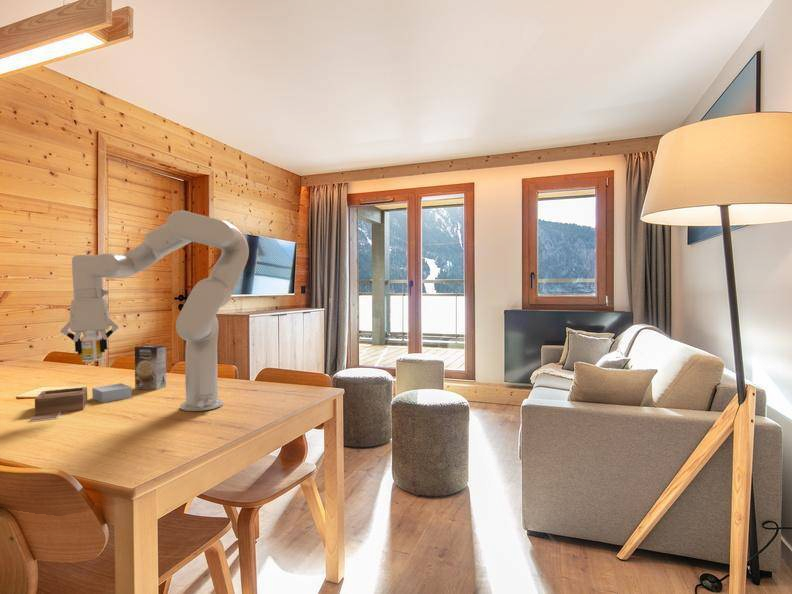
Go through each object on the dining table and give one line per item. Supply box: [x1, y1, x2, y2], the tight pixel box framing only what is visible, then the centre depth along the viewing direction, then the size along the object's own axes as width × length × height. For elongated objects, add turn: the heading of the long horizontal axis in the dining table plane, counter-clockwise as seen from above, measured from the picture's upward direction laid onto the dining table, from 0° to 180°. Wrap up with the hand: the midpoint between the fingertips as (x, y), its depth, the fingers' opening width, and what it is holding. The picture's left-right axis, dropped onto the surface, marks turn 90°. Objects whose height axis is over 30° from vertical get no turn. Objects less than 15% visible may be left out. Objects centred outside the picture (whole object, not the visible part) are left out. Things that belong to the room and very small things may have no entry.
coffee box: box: [134, 344, 167, 391], centre depth 172 cm, size 9×6×16 cm
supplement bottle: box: [80, 330, 103, 363], centre depth 141 cm, size 5×5×10 cm
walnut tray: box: [34, 386, 88, 414], centre depth 144 cm, size 12×12×5 cm
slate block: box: [91, 383, 132, 403], centre depth 156 cm, size 9×9×4 cm
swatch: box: [27, 412, 62, 423], centre depth 134 cm, size 7×7×1 cm
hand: (91, 352), depth 141 cm, fingers closed on supplement bottle, 5 cm apart
